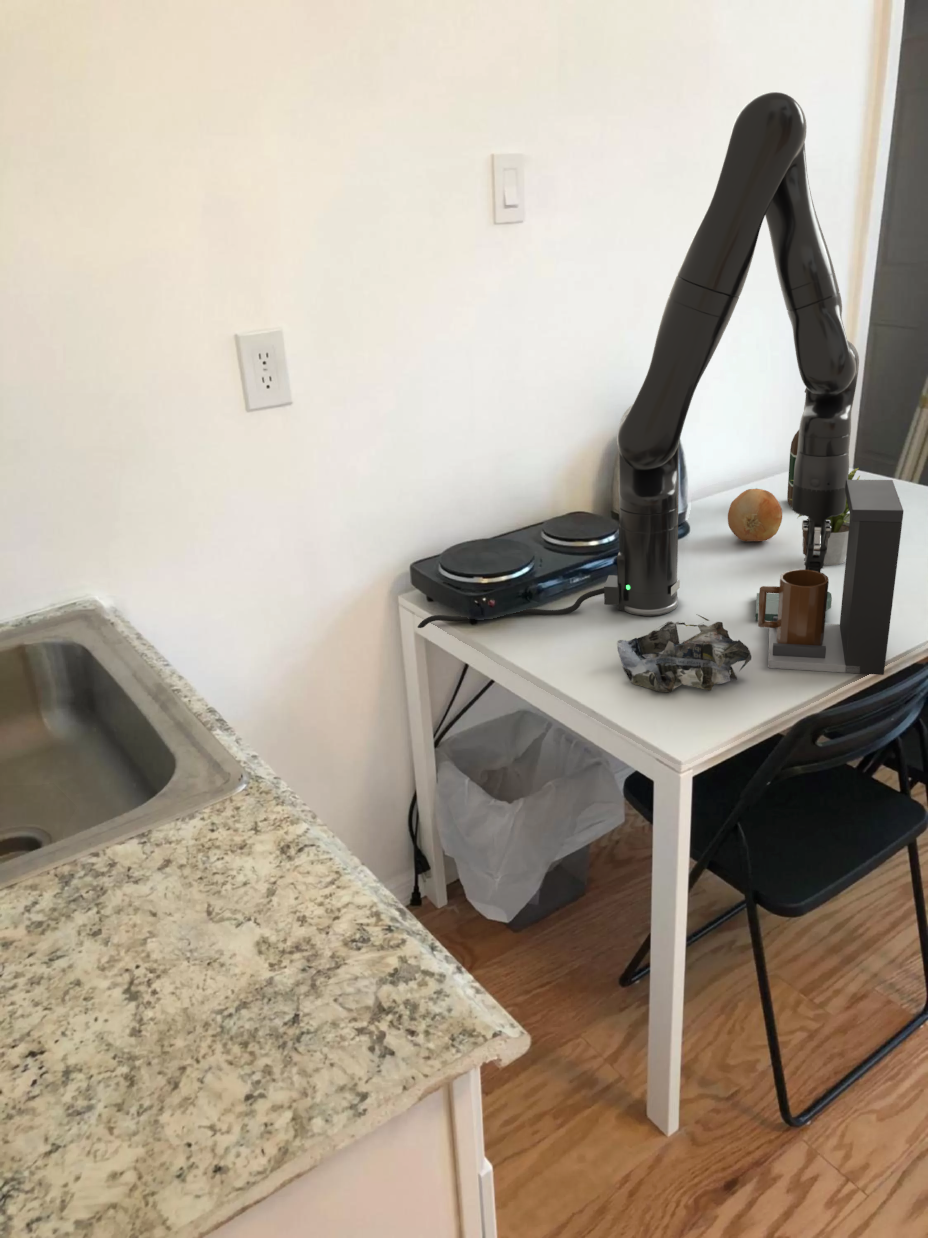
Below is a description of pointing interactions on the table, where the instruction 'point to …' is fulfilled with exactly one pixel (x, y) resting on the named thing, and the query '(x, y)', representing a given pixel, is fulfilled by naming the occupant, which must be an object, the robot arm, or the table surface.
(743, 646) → the foil
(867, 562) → the coffee machine
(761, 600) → the mug
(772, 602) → the block
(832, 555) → the house plant
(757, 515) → the onion
